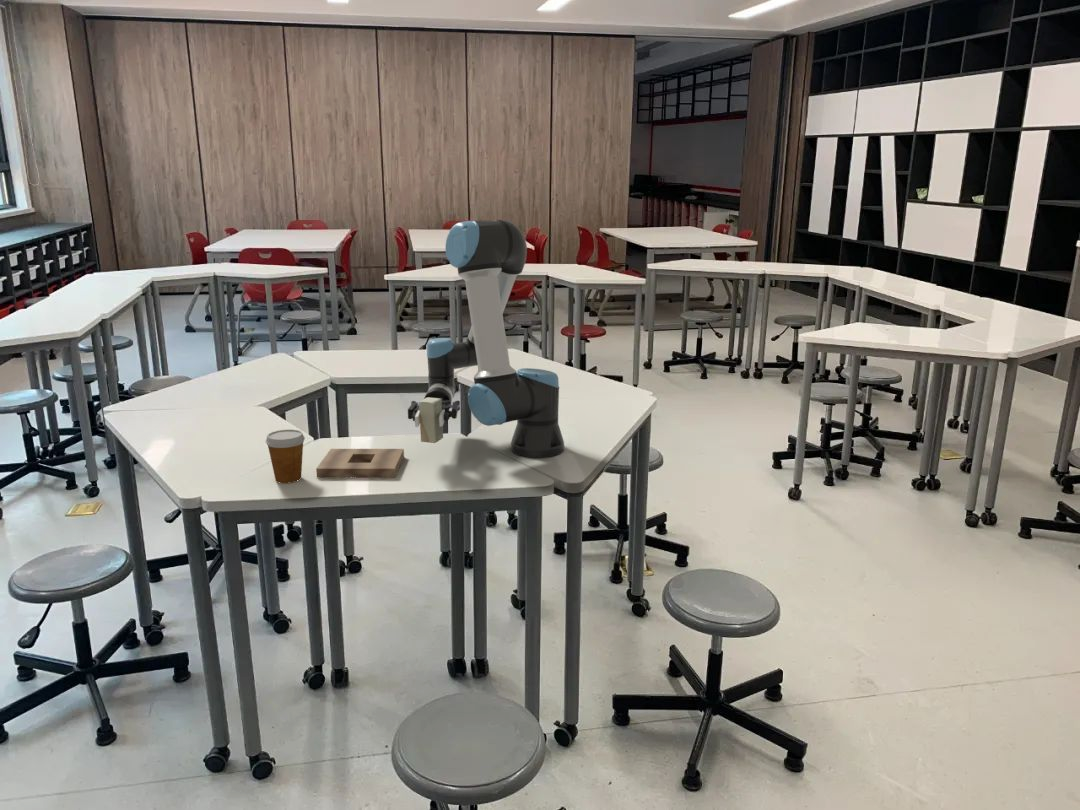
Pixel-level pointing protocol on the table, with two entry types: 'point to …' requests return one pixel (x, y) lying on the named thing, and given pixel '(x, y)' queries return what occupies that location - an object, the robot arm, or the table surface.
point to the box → (430, 420)
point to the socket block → (361, 463)
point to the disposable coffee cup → (286, 454)
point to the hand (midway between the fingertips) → (428, 421)
